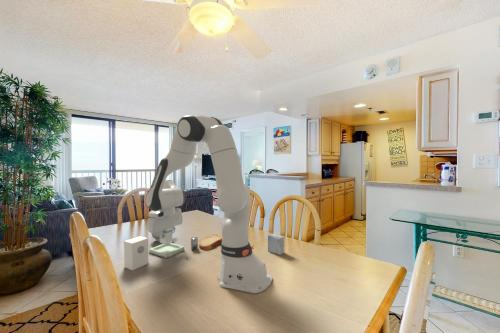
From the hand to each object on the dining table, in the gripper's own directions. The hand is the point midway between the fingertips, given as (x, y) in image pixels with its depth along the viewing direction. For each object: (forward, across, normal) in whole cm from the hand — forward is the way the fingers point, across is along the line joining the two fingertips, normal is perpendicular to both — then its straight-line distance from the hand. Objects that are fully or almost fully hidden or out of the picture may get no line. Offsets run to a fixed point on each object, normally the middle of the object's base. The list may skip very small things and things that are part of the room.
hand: (166, 236), depth 123 cm
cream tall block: (+8, +18, +1) cm, 19 cm away
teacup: (+8, -11, -16) cm, 21 cm away
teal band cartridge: (+3, 0, 0) cm, 3 cm away
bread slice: (+8, -22, +14) cm, 28 cm away
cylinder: (+8, -10, +10) cm, 17 cm away
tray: (+8, 0, 0) cm, 8 cm away
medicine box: (+8, -29, +50) cm, 59 cm away
